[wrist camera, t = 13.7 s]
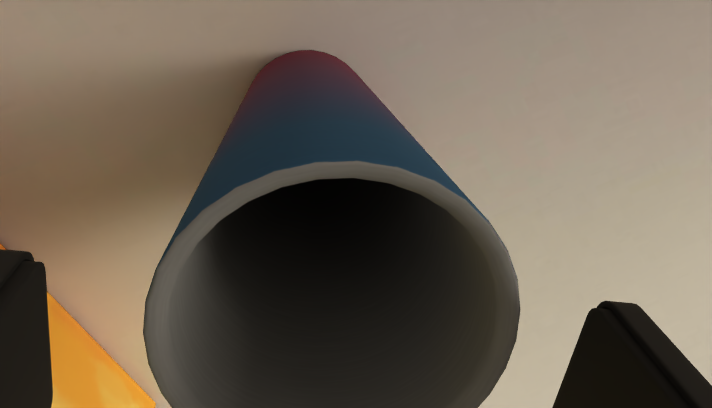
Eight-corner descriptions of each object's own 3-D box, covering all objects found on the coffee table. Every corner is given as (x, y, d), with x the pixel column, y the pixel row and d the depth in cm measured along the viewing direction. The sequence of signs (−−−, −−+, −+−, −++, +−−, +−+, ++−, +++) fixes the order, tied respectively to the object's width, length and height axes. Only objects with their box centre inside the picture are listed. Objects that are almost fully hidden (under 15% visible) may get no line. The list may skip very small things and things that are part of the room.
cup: (420, 75, 24) (594, 257, 11) (342, 213, 26) (404, 509, 13) (266, -7, 22) (240, 86, 9) (195, 148, 25) (86, 416, 11)
